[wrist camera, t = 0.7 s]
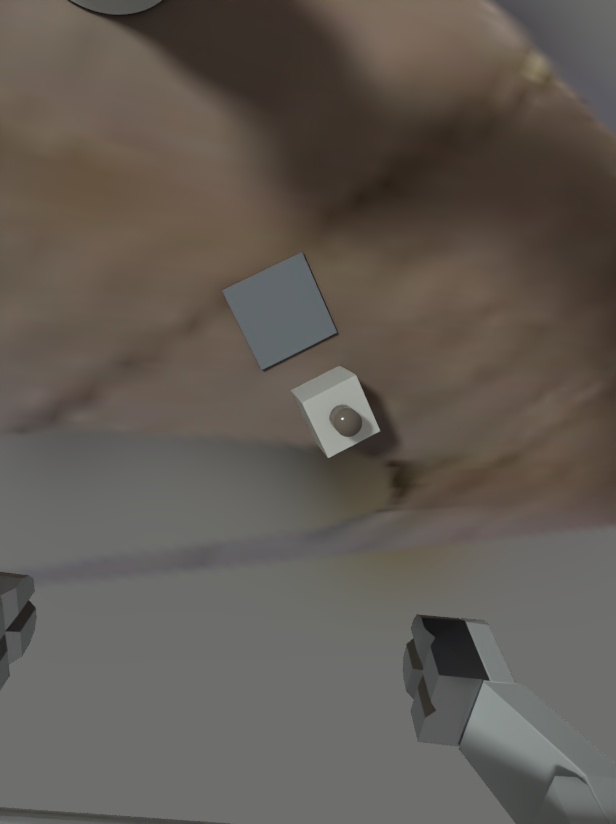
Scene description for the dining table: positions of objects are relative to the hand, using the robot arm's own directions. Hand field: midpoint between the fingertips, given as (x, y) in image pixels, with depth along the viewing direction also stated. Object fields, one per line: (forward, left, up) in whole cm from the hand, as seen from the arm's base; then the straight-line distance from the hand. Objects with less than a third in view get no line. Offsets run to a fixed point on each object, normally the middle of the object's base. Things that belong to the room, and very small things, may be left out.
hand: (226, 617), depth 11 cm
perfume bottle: (+7, +12, -43) cm, 45 cm away
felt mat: (-4, +8, -43) cm, 44 cm away
